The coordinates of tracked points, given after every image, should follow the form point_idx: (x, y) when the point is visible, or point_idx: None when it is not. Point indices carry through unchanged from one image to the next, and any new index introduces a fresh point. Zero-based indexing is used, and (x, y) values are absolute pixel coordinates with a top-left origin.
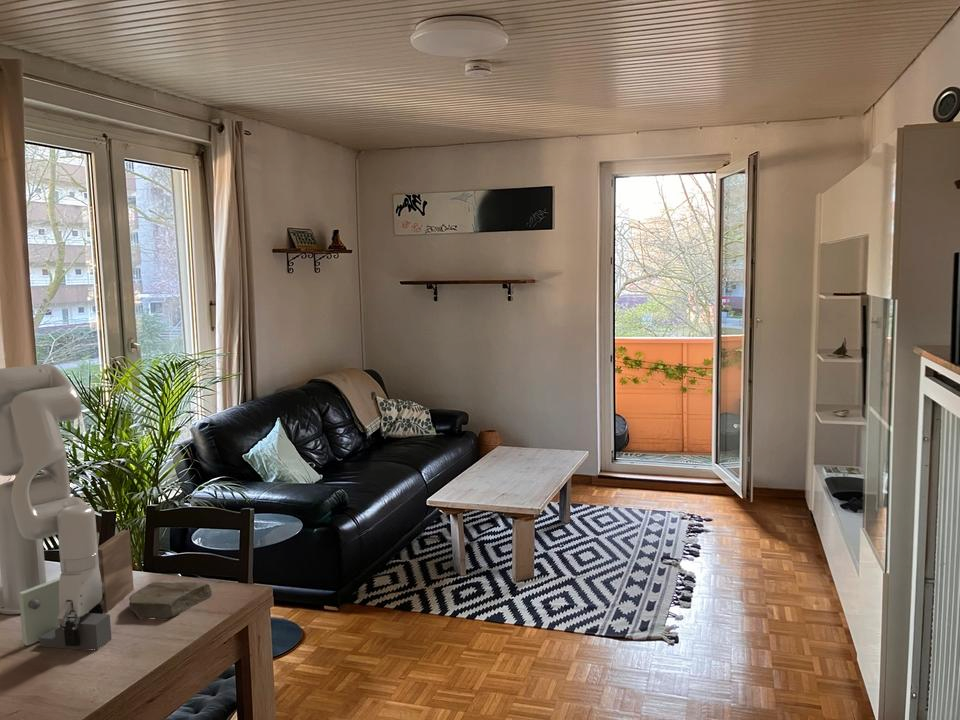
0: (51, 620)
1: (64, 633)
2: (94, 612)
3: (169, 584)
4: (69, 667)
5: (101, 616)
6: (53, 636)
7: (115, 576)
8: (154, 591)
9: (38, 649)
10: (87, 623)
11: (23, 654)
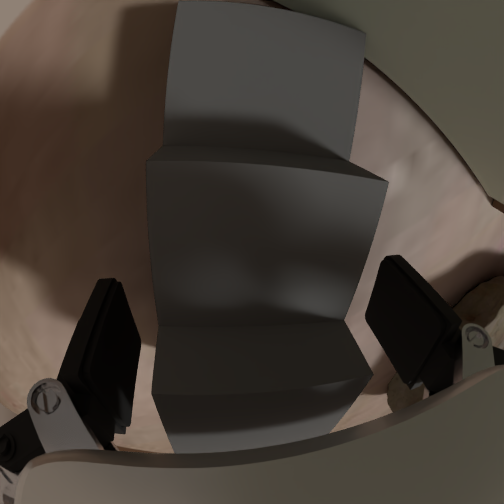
0: (390, 5)
1: (73, 340)
2: (414, 342)
3: None
4: (45, 323)
5: None
6: (208, 96)
7: None
8: (502, 333)
9: (145, 39)
10: (181, 451)
11: (86, 7)
